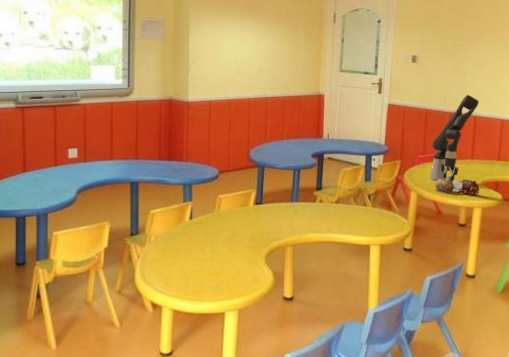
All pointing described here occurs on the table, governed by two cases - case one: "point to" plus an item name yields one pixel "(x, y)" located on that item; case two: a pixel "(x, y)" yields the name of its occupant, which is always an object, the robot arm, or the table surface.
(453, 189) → the grey rectangular panel
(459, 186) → the frame
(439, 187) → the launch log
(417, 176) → the table surface
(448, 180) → the rubber ball
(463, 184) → the toy fire truck
